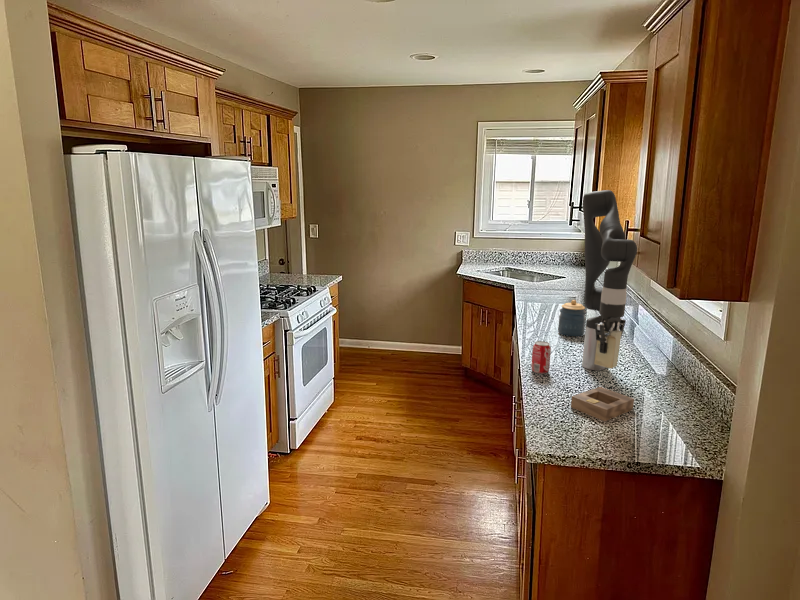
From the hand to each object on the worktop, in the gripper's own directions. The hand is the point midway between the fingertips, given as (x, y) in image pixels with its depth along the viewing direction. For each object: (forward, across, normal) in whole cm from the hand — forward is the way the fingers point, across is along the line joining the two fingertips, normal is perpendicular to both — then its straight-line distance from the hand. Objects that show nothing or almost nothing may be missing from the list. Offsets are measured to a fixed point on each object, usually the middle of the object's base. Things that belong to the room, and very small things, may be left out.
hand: (607, 351), depth 176 cm
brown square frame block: (+20, 0, 0) cm, 20 cm away
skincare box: (+5, 0, 0) cm, 5 cm away
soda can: (+20, -11, -35) cm, 42 cm away
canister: (+21, -70, -64) cm, 97 cm away
